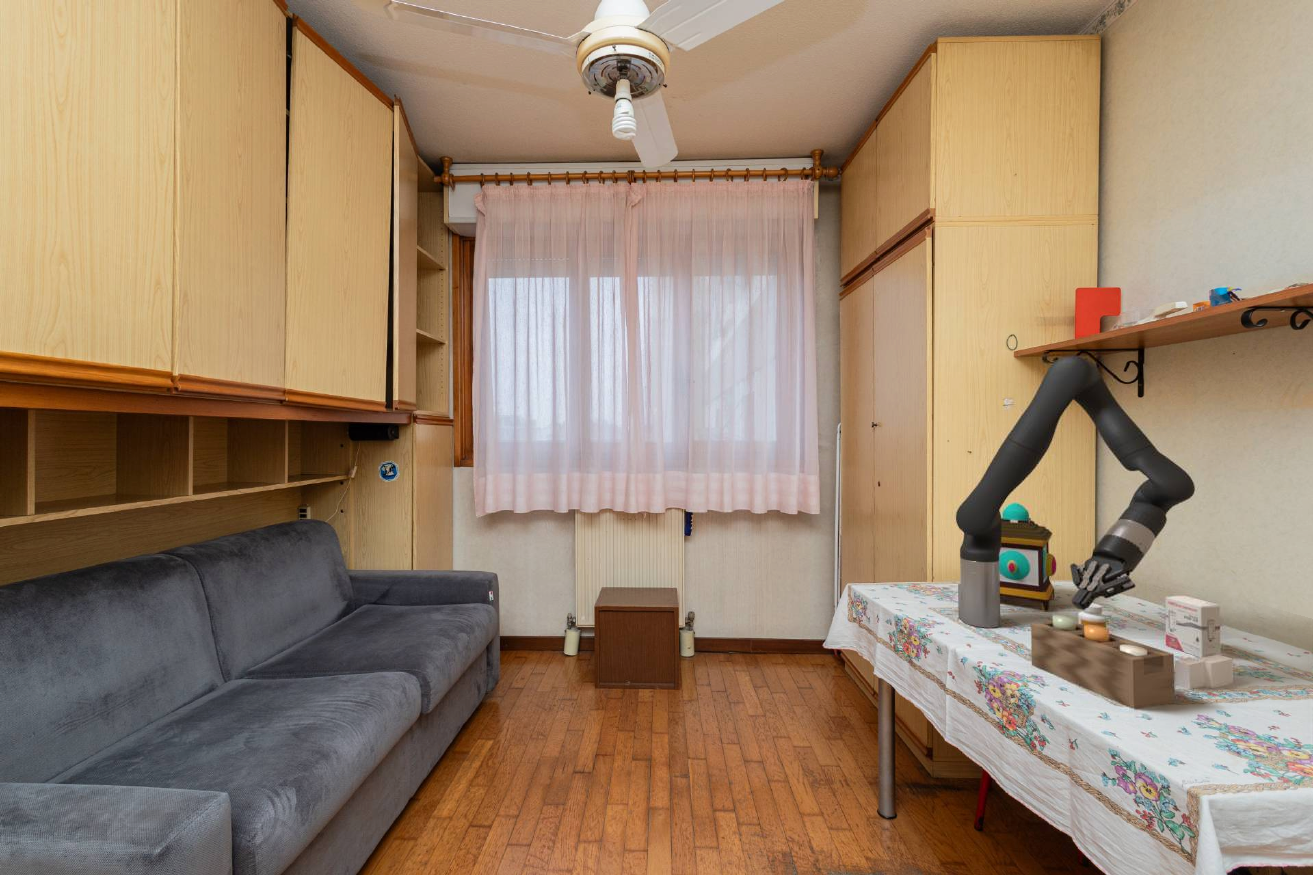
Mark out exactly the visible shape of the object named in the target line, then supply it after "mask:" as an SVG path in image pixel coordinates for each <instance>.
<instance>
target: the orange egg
mask: <svg viewBox="0 0 1313 875" xmlns="http://www.w3.org/2000/svg"><path fill="white" fill-rule="evenodd" d="M1109 634H1110V629H1109V628H1107V627H1106V628H1105V627H1102V626H1097V625H1085V626H1084V638H1086V639H1089V640H1092V641H1095V642H1098V643H1104V642H1109Z"/></svg>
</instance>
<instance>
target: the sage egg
mask: <svg viewBox="0 0 1313 875" xmlns="http://www.w3.org/2000/svg"><path fill="white" fill-rule="evenodd" d="M1052 622H1053V627H1054V628H1057V629H1060V630H1063V631H1065V632H1067V631H1076V623H1077V621H1076V618H1075V617H1073V616H1070V615H1065V614H1053V615H1052Z"/></svg>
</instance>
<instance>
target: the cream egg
mask: <svg viewBox="0 0 1313 875" xmlns="http://www.w3.org/2000/svg"><path fill="white" fill-rule="evenodd" d="M1120 650H1121V651H1124V652H1127V653H1130V654H1132V655H1135V656H1142V655H1147V650H1146V649H1144V648H1142V647H1138V646H1133V645H1120Z"/></svg>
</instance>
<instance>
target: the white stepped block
mask: <svg viewBox="0 0 1313 875" xmlns="http://www.w3.org/2000/svg"><path fill="white" fill-rule="evenodd" d="M1233 659H1234V658H1230V657H1228V656H1224V655H1214V656H1209V657H1205V658H1203V657H1198V658H1195V657H1191V656H1189V657H1183V658H1179V659H1174V684H1175V686H1179V687H1181V686H1182V687H1181V688H1185V689H1187V688H1188V690H1193V689H1196V688H1197V689H1198V688H1201V686H1202V687H1207V686H1208V688H1210V689H1213V688H1217V686H1218V687H1222V686H1226V684H1227V685H1230V684H1233V683H1234V670H1233V669H1234V668H1233V667H1234V666H1233V664H1234V663H1233Z"/></svg>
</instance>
